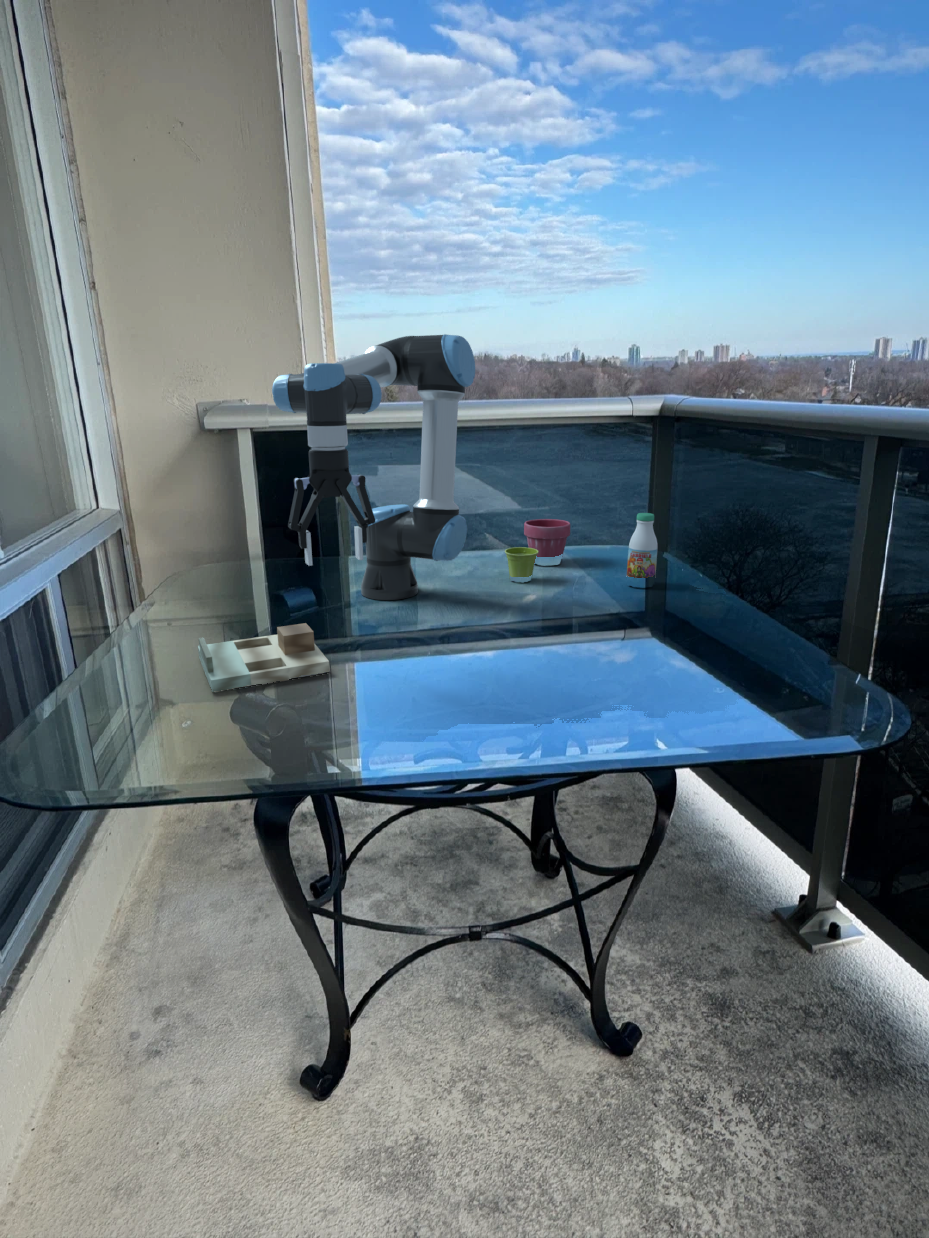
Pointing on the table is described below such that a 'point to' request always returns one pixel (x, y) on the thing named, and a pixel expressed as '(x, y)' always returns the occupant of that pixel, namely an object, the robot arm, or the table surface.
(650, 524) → the milk bottle
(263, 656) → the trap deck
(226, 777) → the table surface
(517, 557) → the plant pot
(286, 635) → the block
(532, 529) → the plant pot
